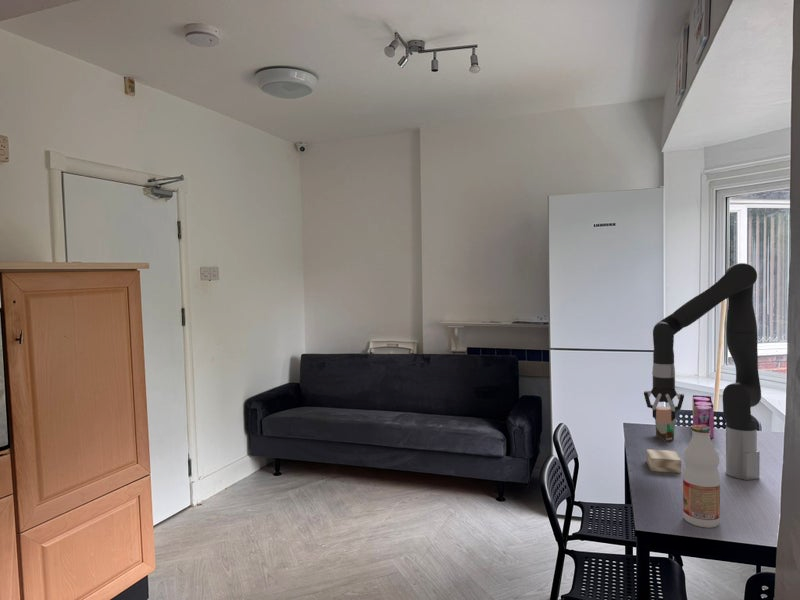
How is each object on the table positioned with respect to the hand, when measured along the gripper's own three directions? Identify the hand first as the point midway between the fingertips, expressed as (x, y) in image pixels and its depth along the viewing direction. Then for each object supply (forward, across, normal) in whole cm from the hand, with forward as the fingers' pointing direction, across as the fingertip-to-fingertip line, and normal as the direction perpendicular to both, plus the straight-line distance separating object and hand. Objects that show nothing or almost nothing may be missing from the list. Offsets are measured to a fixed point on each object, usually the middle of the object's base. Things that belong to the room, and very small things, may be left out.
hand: (663, 419), depth 199 cm
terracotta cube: (+1, 0, 0) cm, 1 cm away
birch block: (+18, 0, +2) cm, 18 cm away
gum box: (+18, -14, -54) cm, 59 cm away
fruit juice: (+18, -12, +44) cm, 49 cm away
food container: (+18, 0, -35) cm, 40 cm away
